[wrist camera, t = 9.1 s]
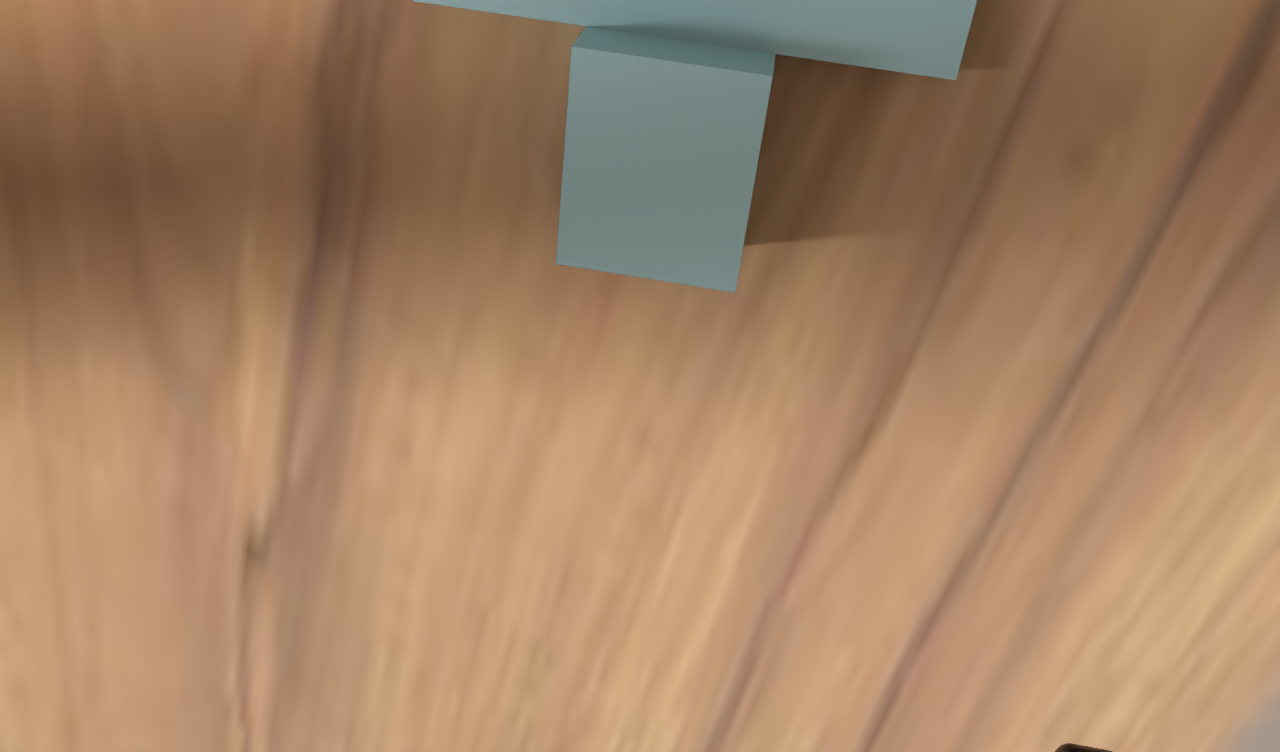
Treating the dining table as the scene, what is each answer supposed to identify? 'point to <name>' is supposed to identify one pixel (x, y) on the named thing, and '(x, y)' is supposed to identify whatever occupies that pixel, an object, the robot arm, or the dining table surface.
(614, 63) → the lid
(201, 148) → the dining table surface
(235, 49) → the dining table surface
